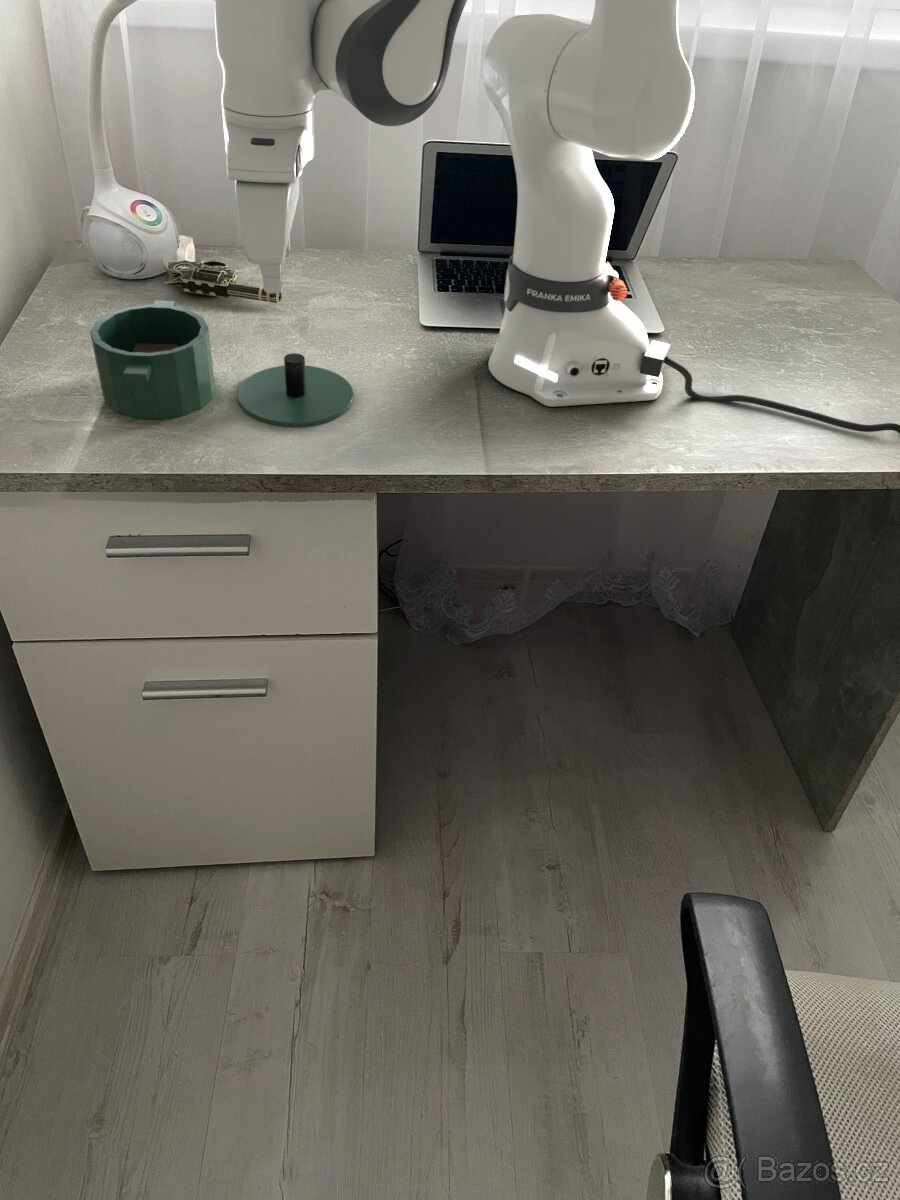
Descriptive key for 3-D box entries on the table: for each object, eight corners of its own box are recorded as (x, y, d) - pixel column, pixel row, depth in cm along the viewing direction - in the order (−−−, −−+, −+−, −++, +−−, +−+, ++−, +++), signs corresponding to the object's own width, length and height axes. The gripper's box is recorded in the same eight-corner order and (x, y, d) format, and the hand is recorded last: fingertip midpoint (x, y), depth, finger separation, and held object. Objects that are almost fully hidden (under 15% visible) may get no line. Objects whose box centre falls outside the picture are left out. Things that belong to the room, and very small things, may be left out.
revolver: (305, 277, 140) (278, 314, 131) (173, 257, 142) (137, 292, 133) (303, 250, 137) (276, 286, 128) (169, 231, 139) (132, 265, 130)
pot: (224, 361, 119) (217, 297, 114) (202, 438, 106) (194, 370, 100) (122, 357, 118) (110, 292, 113) (87, 435, 105) (72, 365, 99)
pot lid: (355, 375, 119) (355, 333, 115) (351, 433, 109) (351, 389, 105) (245, 371, 118) (242, 328, 114) (231, 429, 108) (226, 385, 104)
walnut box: (183, 382, 114) (178, 344, 111) (176, 403, 110) (170, 364, 107) (142, 381, 114) (136, 342, 110) (134, 401, 110) (127, 362, 107)
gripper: (249, 104, 101) (258, 234, 110) (223, 167, 86) (236, 311, 95) (309, 108, 102) (313, 237, 111) (293, 171, 86) (299, 314, 96)
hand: (277, 272), depth 103 cm, fingers open, 8 cm apart
